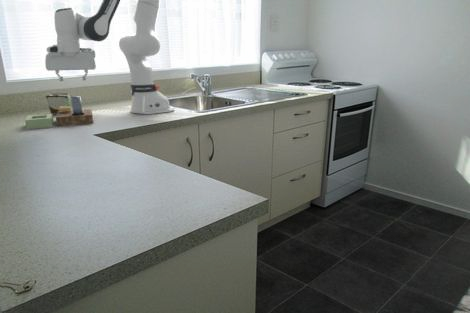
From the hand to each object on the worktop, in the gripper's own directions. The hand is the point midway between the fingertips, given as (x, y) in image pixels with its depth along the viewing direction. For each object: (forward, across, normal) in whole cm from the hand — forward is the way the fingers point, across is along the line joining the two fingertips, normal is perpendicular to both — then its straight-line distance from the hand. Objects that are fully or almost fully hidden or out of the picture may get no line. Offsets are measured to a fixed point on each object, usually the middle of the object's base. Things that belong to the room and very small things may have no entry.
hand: (73, 80), depth 165 cm
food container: (+19, +8, -28) cm, 35 cm away
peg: (+19, 0, 0) cm, 19 cm away
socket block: (+19, +1, -4) cm, 19 cm away
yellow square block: (+18, +5, -8) cm, 20 cm away
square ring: (+19, +16, 0) cm, 25 cm away
